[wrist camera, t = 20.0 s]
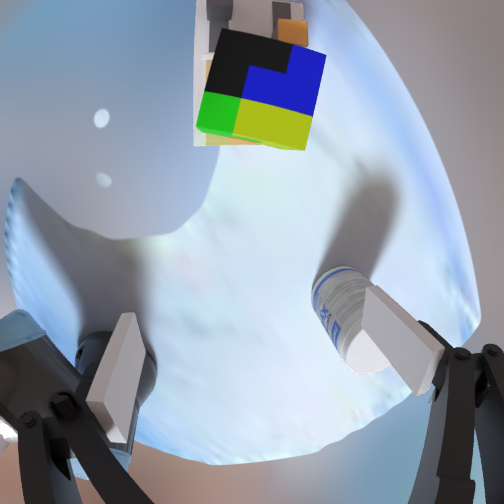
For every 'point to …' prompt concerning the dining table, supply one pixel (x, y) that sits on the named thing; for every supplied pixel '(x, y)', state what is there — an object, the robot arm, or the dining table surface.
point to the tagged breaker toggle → (291, 32)
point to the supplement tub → (347, 318)
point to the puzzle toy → (261, 90)
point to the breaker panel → (206, 37)
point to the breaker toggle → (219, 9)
